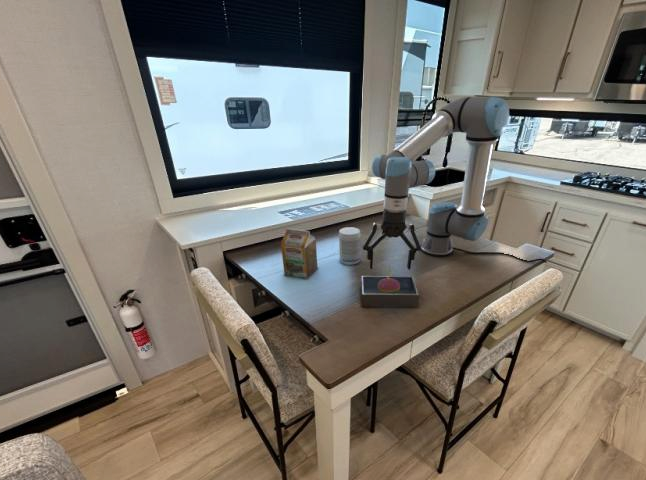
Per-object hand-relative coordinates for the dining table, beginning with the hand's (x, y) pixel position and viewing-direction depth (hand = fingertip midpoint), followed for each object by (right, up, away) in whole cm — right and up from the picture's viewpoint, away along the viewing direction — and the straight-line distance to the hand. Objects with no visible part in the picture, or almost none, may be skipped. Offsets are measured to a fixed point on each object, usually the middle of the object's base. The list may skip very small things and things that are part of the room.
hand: (389, 267), depth 116 cm
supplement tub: (-15, +6, +33) cm, 37 cm away
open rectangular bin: (0, -11, +7) cm, 13 cm away
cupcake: (0, -10, +7) cm, 12 cm away
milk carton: (-36, +1, +24) cm, 43 cm away
